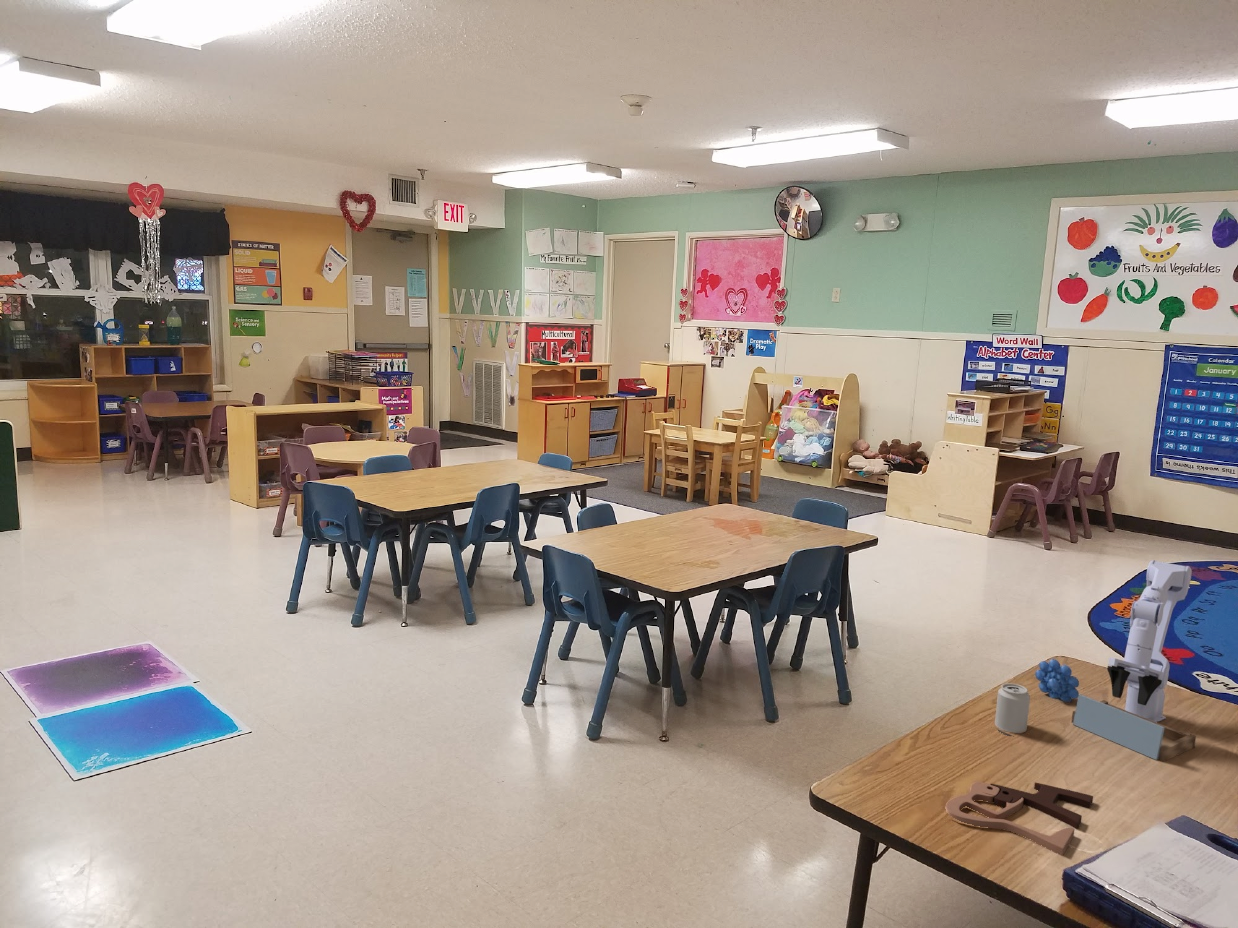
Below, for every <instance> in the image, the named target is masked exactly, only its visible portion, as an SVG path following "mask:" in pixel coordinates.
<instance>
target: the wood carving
mask: <svg viewBox="0 0 1238 928" xmlns="http://www.w3.org/2000/svg"><path fill="white" fill-rule="evenodd" d="M1033 789H1034V790H1036V791H1037V790H1038V791H1037V792H1035V793H1030V792H1027V791H1023V790H1020V789H1016V788H1013V787H1008V786H1003V785H1000V784H996V783H995V784H994V783H986V782H982V781H974V782H973V783H972V784H971V785H970V789H969V792H968V793H965V794H960V795H957V796H955V797H952V798H951V799H949V800H948V801H947V802H946V804H945V809H946V812H947V813H948V814H949V815H950V816H952V817H953V818H955V819H957V820H959V821H961V822H964V823H967V824H972V825H974V826H980V827H988V828H997V829H996V830H1001V829H1005V830H1004V831H1007V832H1009V831H1011V832H1010V833H1012V832H1014V833H1016V834H1015V835H1017V834H1019V835H1021V836H1020V837H1022V836H1024V837H1026V838H1028V839H1031V840H1033V841H1034V842H1033V841H1032V842H1033V843H1035V842H1036V843H1035V844H1037V845H1038V846H1041V845H1042V846H1041V847H1043V848H1045V847H1046V848H1045V849H1047V850H1049V851H1051V850H1052V852H1053V853H1055V854H1057V853H1058V855H1060V856H1062V855H1063V856H1064V854H1065V853H1066V851H1067V849H1068V847H1069V845H1070V844H1071V842H1072V840H1073V838H1075V837H1074V835H1075V830H1078V829H1079V828H1080V825H1081V823H1082V815H1081V814H1079V813H1077V812H1075V811H1072V810H1070V809H1067V808H1065V807H1063V806H1060V805H1059V804H1056V803H1057V802H1058V801H1061V802H1066V803H1068V804H1069V803H1070V804H1074V805H1076V806H1079V807H1083V808H1087V809H1090V808H1091V806H1092V805H1093V801H1094V796H1093V795H1090V794H1086V793H1082V792H1078V791H1074V790H1072V789H1071V790H1070V789H1066V788H1061V787H1056V786H1052V785H1049V784H1045V783H1040V782H1034V786H1033ZM974 800H983V801H988V802H994V803H993V805H995V806H996V805H997V806H996V807H999V806H1000V807H999V808H1002V807H1003V808H1002V809H1000V810H997V811H996V810H993V809H991V808H989V807H986V806H985V805H981V804H980V803H978V802H977V801H975V802H974ZM1024 805H1025V806H1027V807H1029V806H1030V808H1032V809H1034V810H1037V811H1039V812H1041V813H1044V814H1046V815H1048V816H1050V817H1052V818H1054V819H1056V820H1058V821H1060V822H1062V823H1064V824H1065V825H1069V827H1066V828H1061V829H1059V830H1057V831H1055V832H1054V833H1052V834H1050V835H1049V834H1044V833H1042V832H1039V831H1037V830H1034V829H1031V828H1027V827H1025V826H1022V825H1020V824H1017V823H1015V822H1013V821H1011V820H1008V819H1007V820H1006V818H1009V817H1010V816H1011V815H1013V813H1014V814H1015V812H1016V813H1017V812H1019V811H1020V810H1021V809H1023V807H1024ZM965 806H967V807H969V808H971V809H973V810H975V811H978V812H979V813H982V814H984V815H985V816H987V817H989V818H987V817H985V816H978V815H973V814H970V813H965V812H963V811H960V810H961V809H962V808H963V807H965ZM945 809H944V810H945ZM1014 833H1013V834H1014ZM1019 835H1018V836H1019ZM1024 837H1023V838H1024ZM1026 838H1025V839H1026ZM1028 839H1027V840H1028ZM1031 840H1030V841H1031Z"/></svg>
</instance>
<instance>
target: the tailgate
mask: <svg viewBox="0 0 1238 928" xmlns="http://www.w3.org/2000/svg"><path fill="white" fill-rule="evenodd" d="M1075 710H1076V712H1075V717H1074V722H1073V723H1072V725H1074V726H1076V727H1078V728H1081V729H1083V730H1085V731H1087V732H1090V733H1092V734H1094V735H1096V736H1098V737H1101V738H1104V739H1106V740H1109V741H1110V742H1114V743H1116V744H1117V745H1121V746H1123V747H1125V748H1127V749H1129V750H1132V751H1135V752H1137V753H1139V754H1142V755H1143V756H1146V757H1148V758H1150V759H1153V760H1155V761H1157V760H1159V759H1158V757H1159V752H1160V747H1161V743H1162V738H1163V733H1164V728H1165V727H1162V726H1160V725H1157V724H1155V723H1152V722H1150V721H1147V720H1144V719H1142V718H1139V717H1137V716H1134V715H1132V714H1129V713H1127V712H1124V711H1122V710H1119V709H1116V708H1114V707H1111V706H1109V705H1106V704H1104V703H1101V702H1100V701H1099V700H1095V699H1093V698H1092V697H1088V696H1086V695H1083V694H1082V693H1081V694H1079V697H1078V698H1077V703H1076V707H1075Z"/></svg>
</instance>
